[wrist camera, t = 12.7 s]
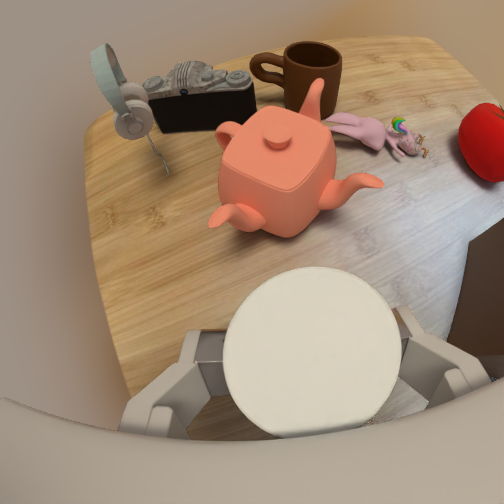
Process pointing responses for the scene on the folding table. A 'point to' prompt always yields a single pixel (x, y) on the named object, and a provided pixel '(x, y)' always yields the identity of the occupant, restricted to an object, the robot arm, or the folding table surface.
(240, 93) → the camera
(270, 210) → the teapot
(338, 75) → the mug
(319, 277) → the pill bottle
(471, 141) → the tomato
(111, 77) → the headphones
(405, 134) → the pink animal figure
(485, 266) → the carton
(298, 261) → the folding table surface
